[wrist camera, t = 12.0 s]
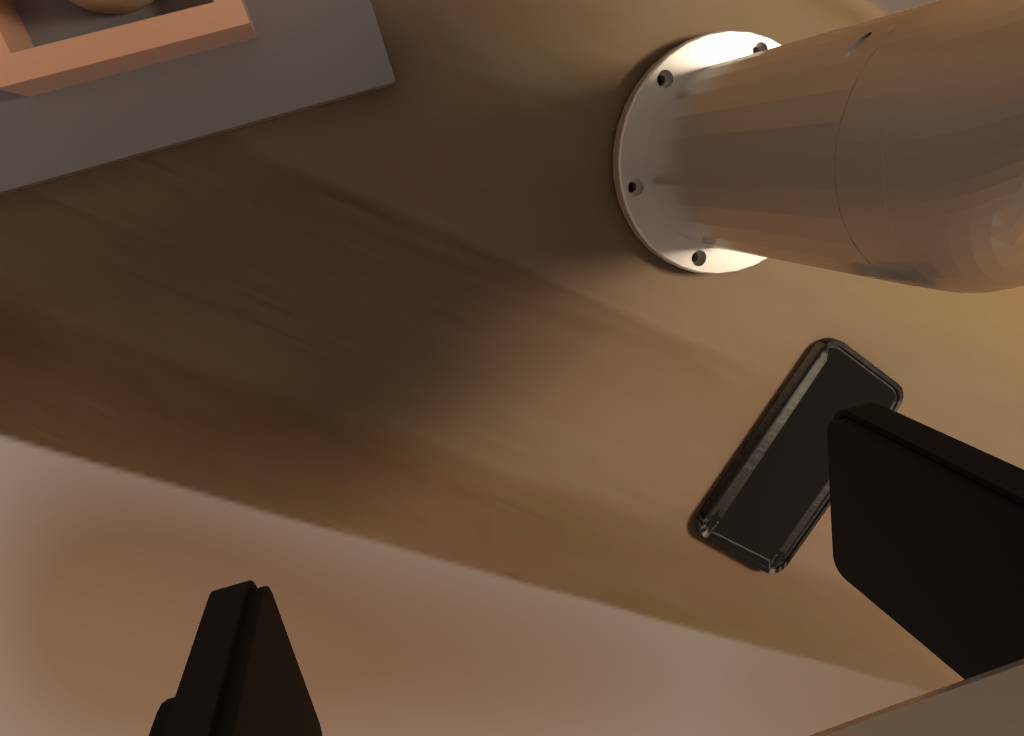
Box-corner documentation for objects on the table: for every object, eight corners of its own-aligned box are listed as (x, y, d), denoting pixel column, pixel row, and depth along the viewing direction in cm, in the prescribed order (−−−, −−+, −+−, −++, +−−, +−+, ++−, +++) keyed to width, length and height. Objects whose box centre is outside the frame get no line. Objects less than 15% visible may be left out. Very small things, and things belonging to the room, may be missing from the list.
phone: (694, 532, 44) (832, 333, 42) (685, 524, 45) (820, 329, 43) (778, 579, 46) (911, 393, 45) (768, 570, 47) (898, 388, 46)
